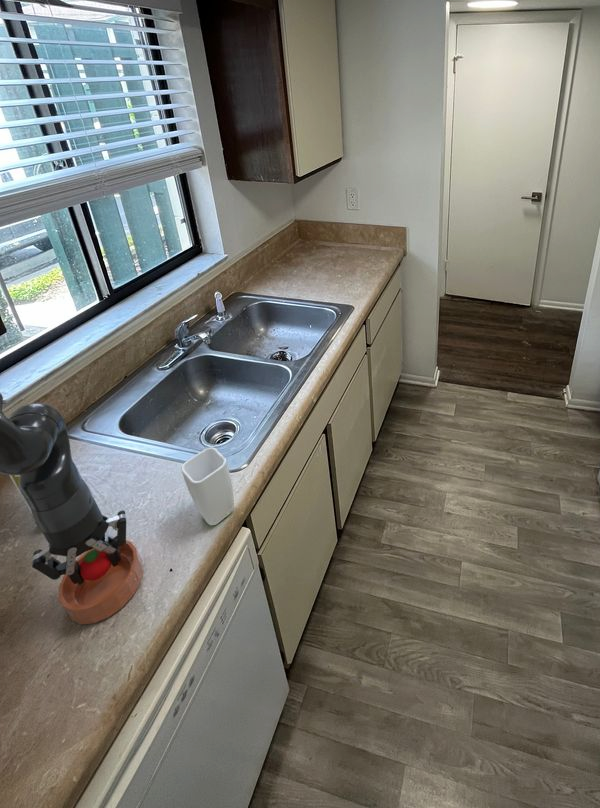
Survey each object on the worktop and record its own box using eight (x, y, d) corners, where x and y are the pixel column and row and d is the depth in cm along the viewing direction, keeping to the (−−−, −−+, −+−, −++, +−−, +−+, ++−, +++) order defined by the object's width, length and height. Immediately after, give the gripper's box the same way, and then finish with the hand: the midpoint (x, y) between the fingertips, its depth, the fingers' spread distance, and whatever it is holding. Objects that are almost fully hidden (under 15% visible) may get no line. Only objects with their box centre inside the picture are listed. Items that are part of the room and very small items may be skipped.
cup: (194, 514, 95) (177, 466, 89) (224, 491, 100) (211, 444, 94) (210, 534, 91) (195, 486, 85) (242, 509, 96) (229, 462, 90)
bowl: (67, 642, 74) (57, 626, 72) (68, 578, 84) (59, 562, 82) (147, 597, 81) (140, 581, 78) (140, 542, 90) (133, 526, 88)
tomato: (84, 592, 77) (74, 574, 75) (84, 568, 81) (74, 551, 79) (116, 575, 80) (107, 558, 77) (114, 553, 83) (105, 536, 81)
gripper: (114, 472, 79) (140, 532, 86) (13, 515, 72) (51, 576, 79) (117, 503, 73) (145, 564, 81) (8, 553, 66) (50, 615, 74)
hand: (98, 570), depth 80 cm, fingers closed on tomato, 4 cm apart
